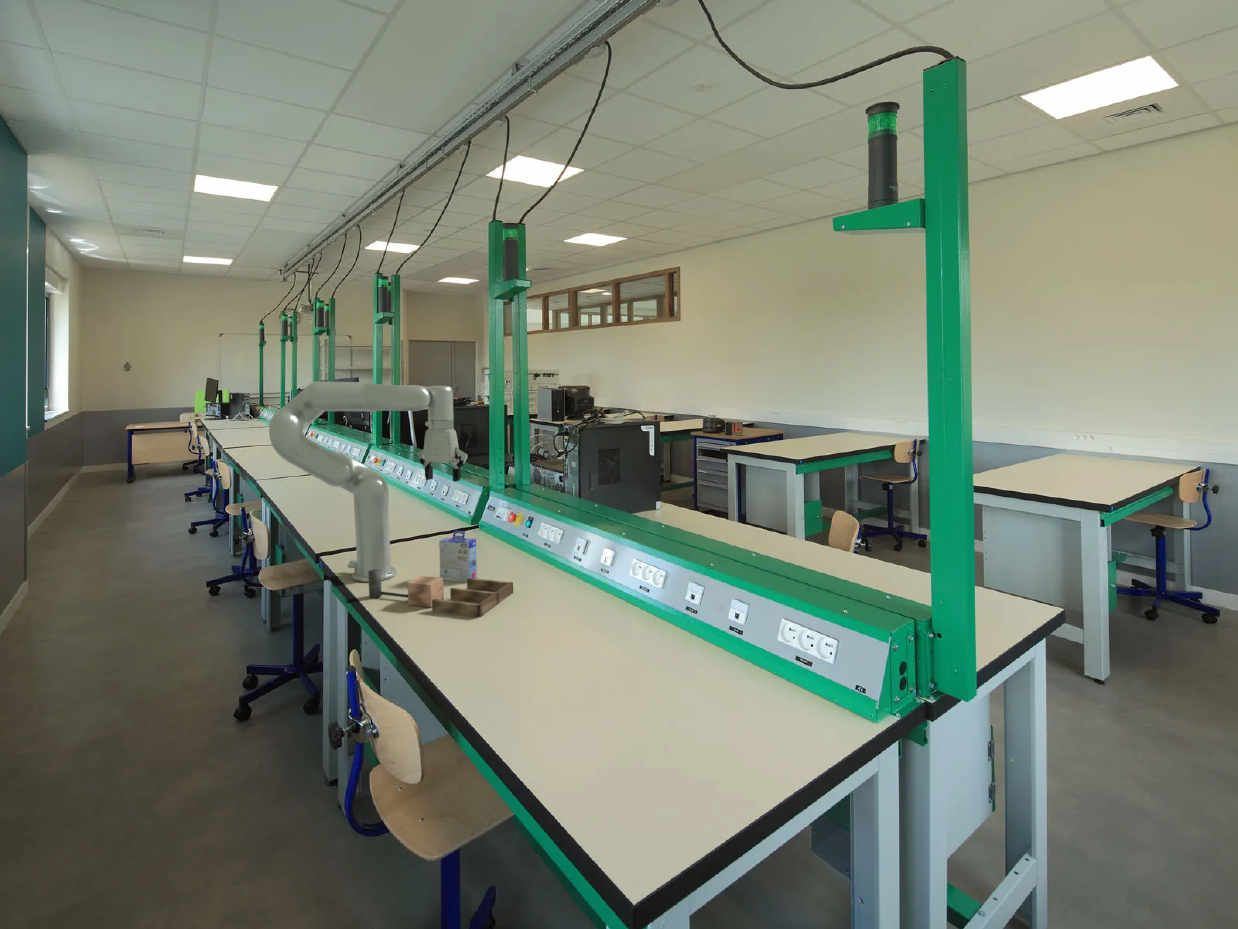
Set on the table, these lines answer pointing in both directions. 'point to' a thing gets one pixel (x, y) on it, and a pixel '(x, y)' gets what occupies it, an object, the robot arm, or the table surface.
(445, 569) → the ink cartridge box
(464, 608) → the tray
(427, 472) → the robot arm
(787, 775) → the table surface
